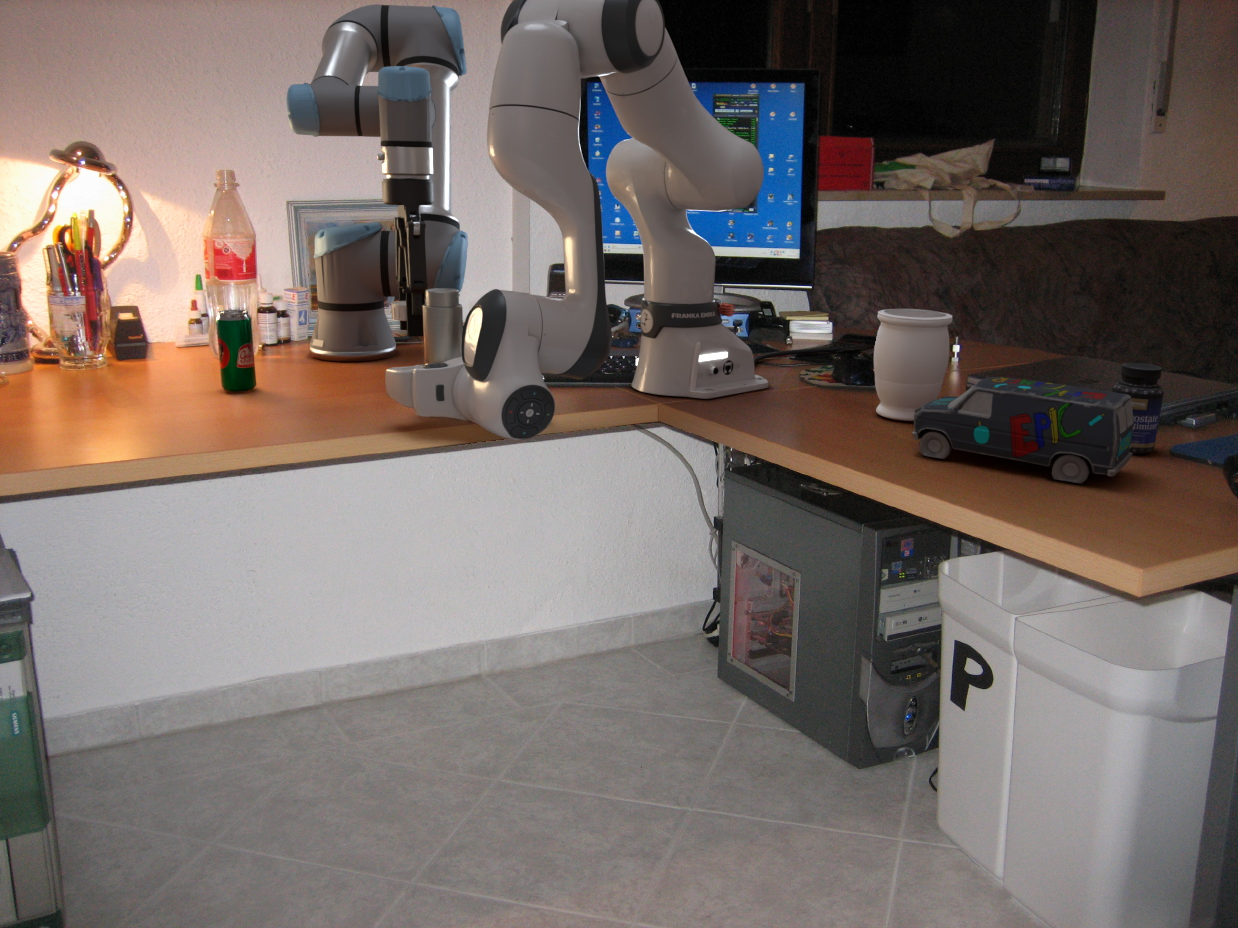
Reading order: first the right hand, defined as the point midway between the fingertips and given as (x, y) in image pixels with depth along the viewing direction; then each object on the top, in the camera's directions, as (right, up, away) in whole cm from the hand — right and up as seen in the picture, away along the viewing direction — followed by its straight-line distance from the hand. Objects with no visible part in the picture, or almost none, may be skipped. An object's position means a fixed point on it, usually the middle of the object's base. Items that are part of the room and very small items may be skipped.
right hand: (441, 368), depth 153 cm
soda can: (-33, -2, +12) cm, 35 cm away
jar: (+67, -7, +4) cm, 68 cm away
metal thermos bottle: (0, -6, +1) cm, 6 cm away
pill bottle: (+93, -12, -12) cm, 94 cm away
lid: (-6, +11, +11) cm, 17 cm away
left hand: (-6, +7, +12) cm, 15 cm away
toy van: (+75, -14, -19) cm, 79 cm away
